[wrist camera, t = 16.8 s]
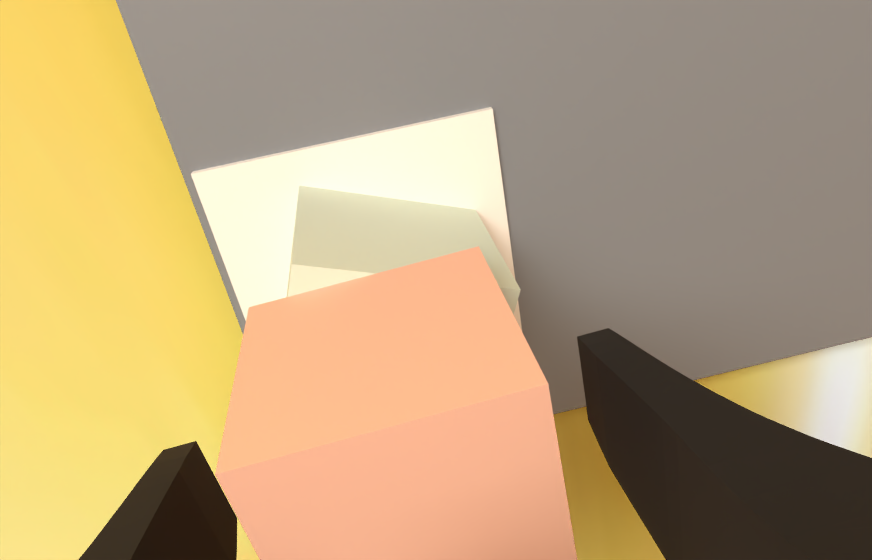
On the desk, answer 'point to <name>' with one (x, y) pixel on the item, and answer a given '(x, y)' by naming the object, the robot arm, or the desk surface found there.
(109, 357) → the desk surface
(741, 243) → the plate
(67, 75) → the desk surface
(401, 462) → the salmon pink block
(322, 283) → the sage brick
